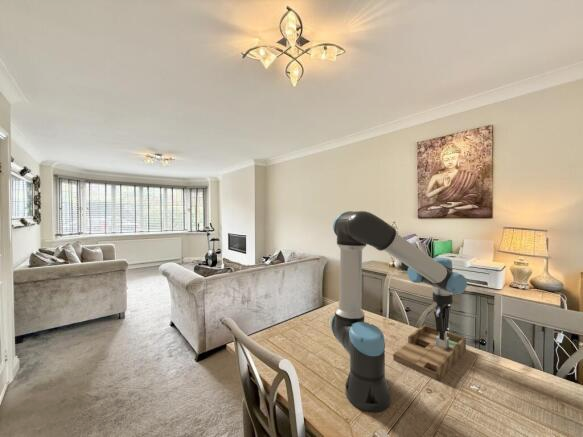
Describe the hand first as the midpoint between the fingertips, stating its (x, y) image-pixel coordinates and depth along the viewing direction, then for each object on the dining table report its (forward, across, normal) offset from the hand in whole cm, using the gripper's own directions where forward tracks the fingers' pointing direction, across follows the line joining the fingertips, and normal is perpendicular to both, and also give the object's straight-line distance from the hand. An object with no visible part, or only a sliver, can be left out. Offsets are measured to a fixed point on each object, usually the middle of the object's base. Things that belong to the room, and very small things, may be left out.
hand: (442, 345), depth 108 cm
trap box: (+4, -4, +4) cm, 7 cm away
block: (+2, +3, +1) cm, 3 cm away
